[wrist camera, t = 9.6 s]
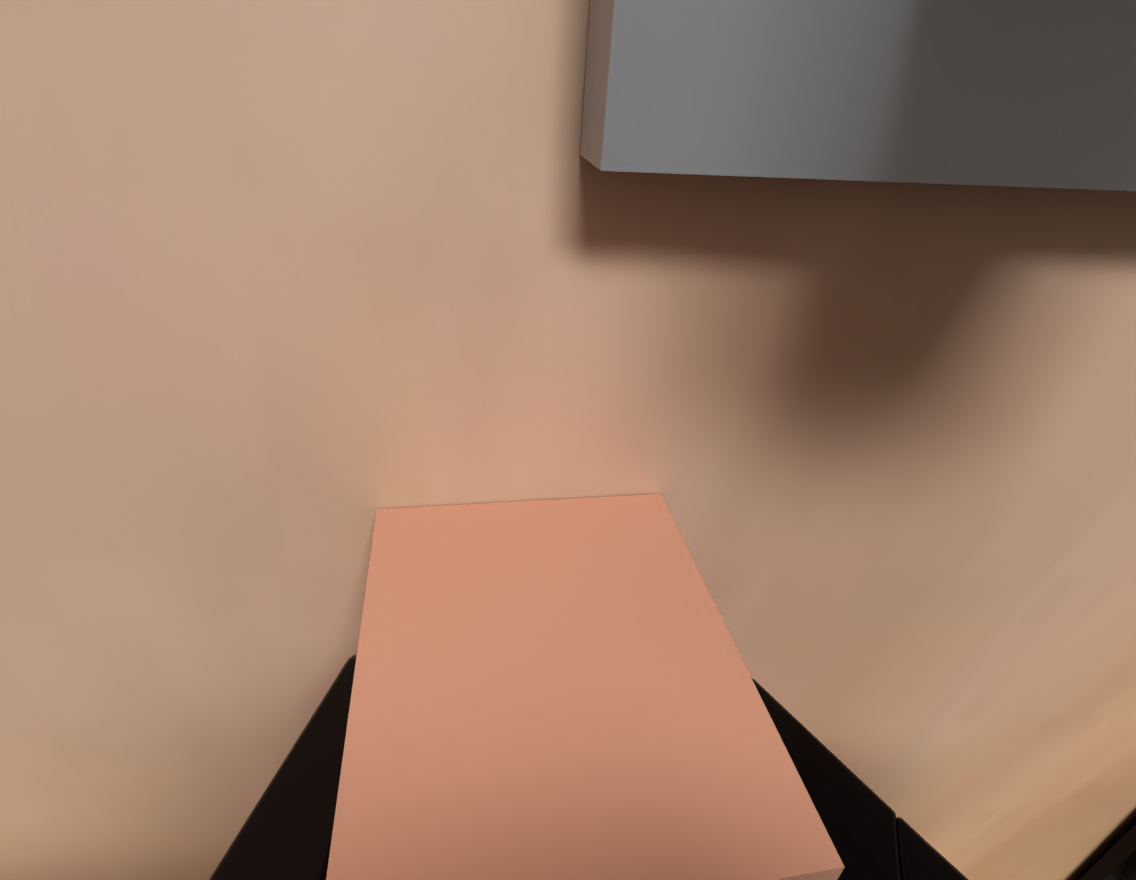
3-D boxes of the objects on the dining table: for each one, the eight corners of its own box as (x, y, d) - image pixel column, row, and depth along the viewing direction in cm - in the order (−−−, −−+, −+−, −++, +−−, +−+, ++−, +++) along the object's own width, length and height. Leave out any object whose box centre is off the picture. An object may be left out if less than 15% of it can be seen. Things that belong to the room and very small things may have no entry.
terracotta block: (629, 673, 11) (741, 1043, 7) (399, 698, 11) (374, 1123, 6) (660, 493, 9) (844, 868, 5) (376, 509, 8) (314, 959, 4)
